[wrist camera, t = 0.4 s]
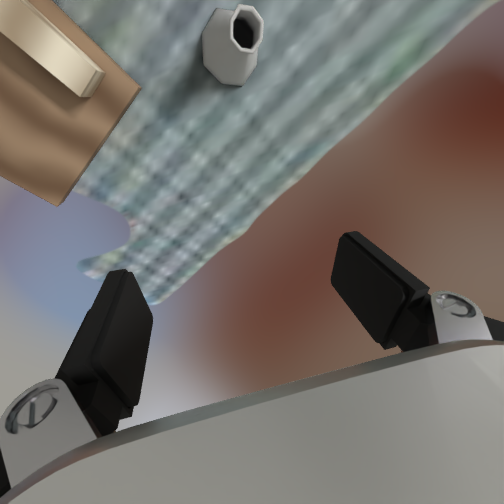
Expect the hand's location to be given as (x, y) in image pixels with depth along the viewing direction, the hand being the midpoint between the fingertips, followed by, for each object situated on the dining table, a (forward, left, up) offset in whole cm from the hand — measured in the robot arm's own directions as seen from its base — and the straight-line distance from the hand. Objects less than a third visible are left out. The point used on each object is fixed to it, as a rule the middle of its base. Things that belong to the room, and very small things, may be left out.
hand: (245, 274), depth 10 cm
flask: (-11, -6, -29) cm, 32 cm away
